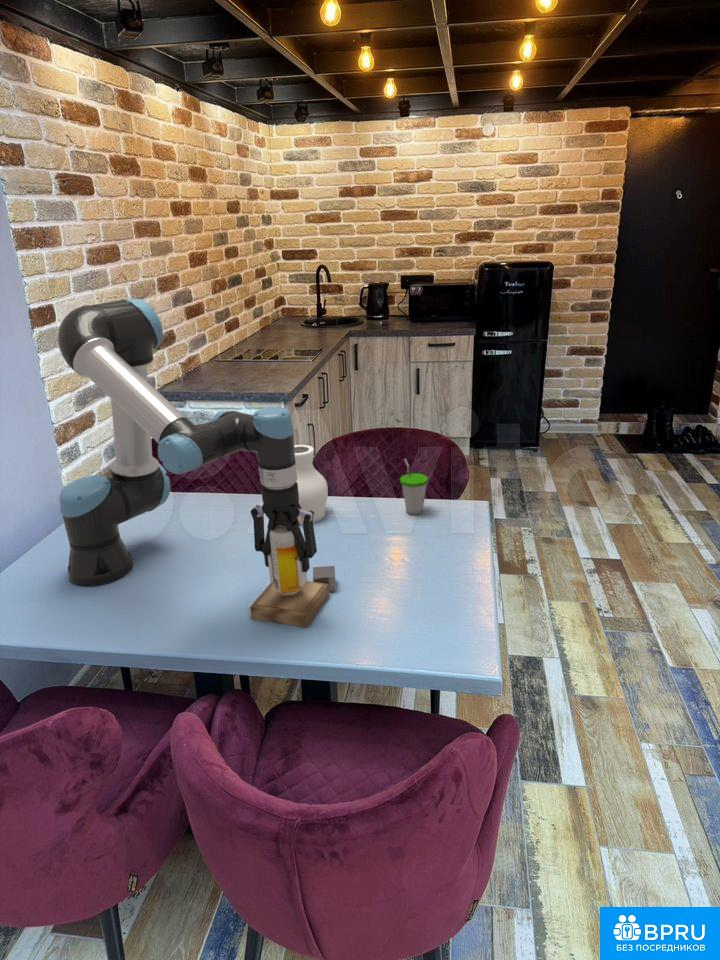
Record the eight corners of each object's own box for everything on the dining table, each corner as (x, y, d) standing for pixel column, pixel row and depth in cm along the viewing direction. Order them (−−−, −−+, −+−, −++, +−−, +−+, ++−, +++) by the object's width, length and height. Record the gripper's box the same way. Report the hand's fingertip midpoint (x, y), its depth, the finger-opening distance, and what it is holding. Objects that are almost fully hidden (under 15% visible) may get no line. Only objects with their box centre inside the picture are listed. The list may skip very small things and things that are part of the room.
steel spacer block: (314, 593, 156) (312, 578, 155) (314, 582, 161) (313, 567, 159) (336, 591, 156) (334, 576, 155) (335, 580, 161) (334, 565, 159)
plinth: (251, 618, 147) (249, 605, 146) (277, 588, 159) (275, 575, 157) (307, 627, 143) (305, 614, 142) (329, 595, 155) (328, 583, 153)
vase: (283, 529, 187) (276, 461, 180) (276, 508, 200) (269, 444, 193) (334, 521, 190) (329, 454, 183) (324, 502, 203) (319, 438, 196)
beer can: (308, 589, 149) (303, 527, 143) (285, 599, 145) (279, 536, 140) (293, 579, 153) (287, 518, 147) (270, 589, 150) (263, 527, 144)
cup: (430, 517, 190) (429, 466, 184) (401, 518, 190) (400, 468, 184) (427, 505, 197) (426, 456, 191) (399, 507, 197) (398, 458, 192)
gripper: (228, 486, 140) (241, 584, 148) (315, 494, 134) (323, 596, 142) (246, 472, 146) (257, 567, 155) (329, 480, 140) (335, 578, 149)
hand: (288, 581), depth 148 cm, fingers closed on beer can, 6 cm apart
